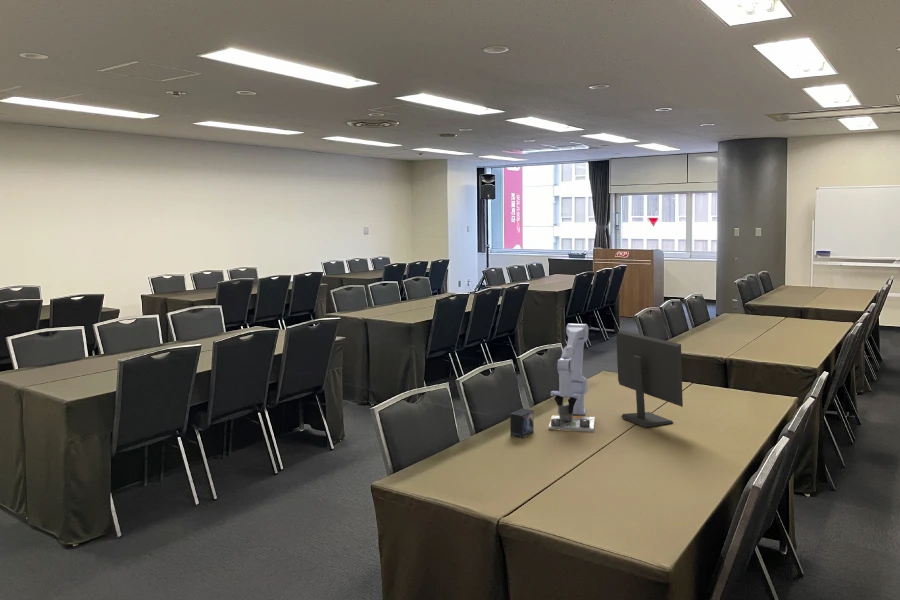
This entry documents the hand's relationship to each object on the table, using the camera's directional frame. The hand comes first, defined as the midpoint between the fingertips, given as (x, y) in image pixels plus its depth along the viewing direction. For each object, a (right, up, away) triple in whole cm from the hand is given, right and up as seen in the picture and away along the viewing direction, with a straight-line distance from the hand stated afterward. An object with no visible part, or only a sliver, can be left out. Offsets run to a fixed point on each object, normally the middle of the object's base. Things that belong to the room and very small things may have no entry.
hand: (565, 412), depth 315 cm
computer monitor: (+38, -4, 0) cm, 38 cm away
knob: (+2, -3, +1) cm, 4 cm away
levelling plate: (+3, -6, -2) cm, 6 cm away
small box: (-22, -8, -13) cm, 27 cm away
